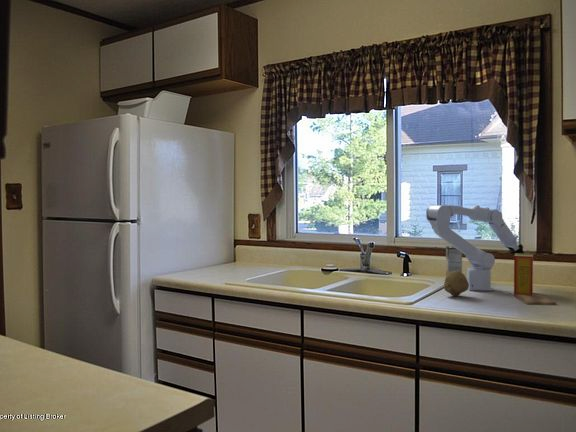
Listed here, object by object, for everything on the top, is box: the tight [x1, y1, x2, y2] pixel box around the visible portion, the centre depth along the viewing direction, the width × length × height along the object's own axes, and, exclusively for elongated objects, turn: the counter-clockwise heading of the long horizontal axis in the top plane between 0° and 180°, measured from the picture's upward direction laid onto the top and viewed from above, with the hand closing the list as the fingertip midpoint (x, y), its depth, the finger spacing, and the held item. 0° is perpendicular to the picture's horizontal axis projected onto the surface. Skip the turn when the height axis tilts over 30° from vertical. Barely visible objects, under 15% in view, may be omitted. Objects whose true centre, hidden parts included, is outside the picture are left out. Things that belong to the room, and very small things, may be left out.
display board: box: [514, 294, 557, 306], centre depth 188 cm, size 10×14×1 cm
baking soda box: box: [513, 253, 534, 297], centre depth 201 cm, size 10×6×16 cm
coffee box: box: [445, 245, 463, 277], centre depth 231 cm, size 9×6×16 cm
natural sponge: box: [443, 271, 469, 297], centre depth 198 cm, size 9×9×10 cm
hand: (520, 256), depth 217 cm, fingers open, 7 cm apart
